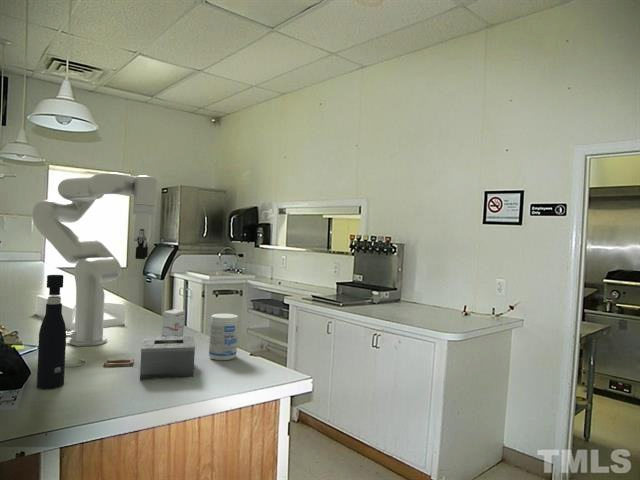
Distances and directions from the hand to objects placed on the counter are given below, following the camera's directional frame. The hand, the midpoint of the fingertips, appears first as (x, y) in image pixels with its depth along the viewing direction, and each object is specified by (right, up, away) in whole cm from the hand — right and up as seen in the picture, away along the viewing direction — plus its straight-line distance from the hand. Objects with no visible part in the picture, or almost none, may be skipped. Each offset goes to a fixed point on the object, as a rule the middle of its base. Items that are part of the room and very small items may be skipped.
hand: (141, 258), depth 161 cm
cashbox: (+17, -34, -22) cm, 44 cm away
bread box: (-48, -31, +47) cm, 74 cm away
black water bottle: (-9, -33, -39) cm, 52 cm away
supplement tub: (+30, -35, -4) cm, 46 cm away
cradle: (0, -33, -18) cm, 38 cm away
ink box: (+6, -34, +16) cm, 38 cm away
